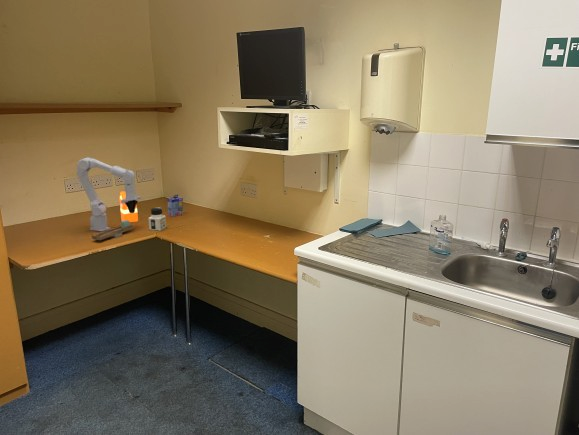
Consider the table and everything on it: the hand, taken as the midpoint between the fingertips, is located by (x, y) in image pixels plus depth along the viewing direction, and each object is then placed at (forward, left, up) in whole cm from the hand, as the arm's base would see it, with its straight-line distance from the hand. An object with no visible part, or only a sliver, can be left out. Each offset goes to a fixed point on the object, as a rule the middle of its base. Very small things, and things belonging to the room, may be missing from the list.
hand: (132, 212), depth 273 cm
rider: (0, -6, -8) cm, 10 cm away
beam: (0, -16, -10) cm, 19 cm away
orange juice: (-16, +14, -11) cm, 24 cm away
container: (+13, +7, -11) cm, 18 cm away
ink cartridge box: (+2, +39, -11) cm, 40 cm away
